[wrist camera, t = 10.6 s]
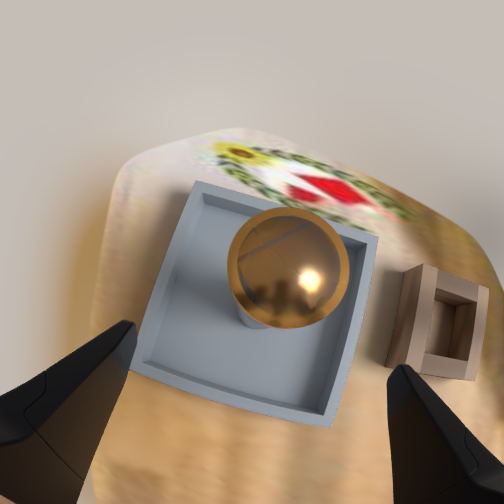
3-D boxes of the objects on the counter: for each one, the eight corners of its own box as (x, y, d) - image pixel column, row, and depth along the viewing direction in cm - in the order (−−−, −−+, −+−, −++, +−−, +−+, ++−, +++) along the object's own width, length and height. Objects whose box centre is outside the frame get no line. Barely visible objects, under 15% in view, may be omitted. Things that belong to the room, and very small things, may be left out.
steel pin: (291, 325, 21) (363, 308, 9) (238, 339, 20) (244, 343, 8) (277, 274, 22) (327, 197, 10) (225, 287, 21) (214, 220, 9)
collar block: (454, 379, 21) (475, 381, 18) (384, 367, 21) (403, 369, 18) (468, 294, 23) (489, 288, 20) (404, 271, 23) (423, 263, 20)
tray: (320, 419, 20) (330, 428, 17) (139, 365, 20) (127, 368, 18) (365, 246, 23) (378, 237, 21) (199, 195, 24) (195, 180, 21)
